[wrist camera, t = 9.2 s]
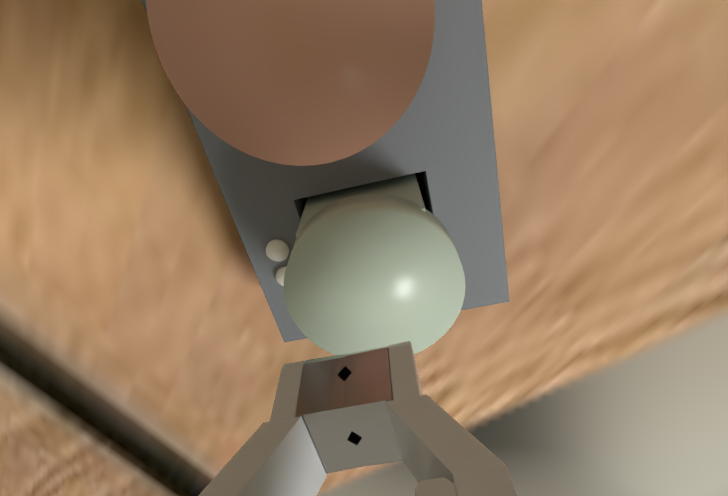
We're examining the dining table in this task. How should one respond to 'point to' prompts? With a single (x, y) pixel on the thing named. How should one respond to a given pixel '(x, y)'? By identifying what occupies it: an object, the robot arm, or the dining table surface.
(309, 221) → the button two dots
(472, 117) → the button panel
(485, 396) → the dining table surface
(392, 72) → the pink dome knob
